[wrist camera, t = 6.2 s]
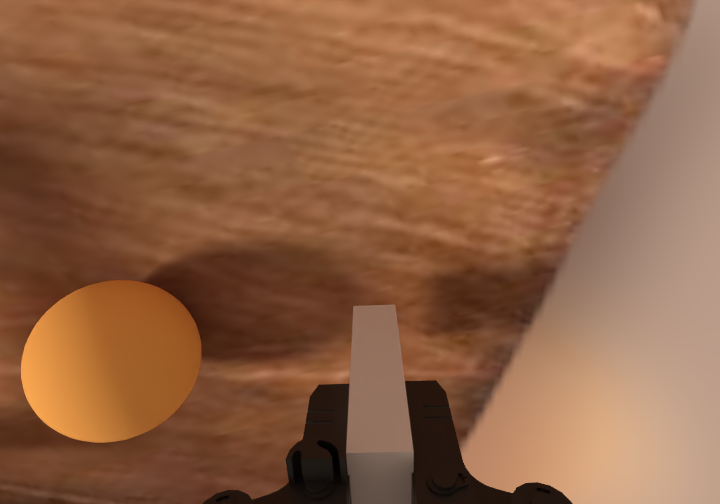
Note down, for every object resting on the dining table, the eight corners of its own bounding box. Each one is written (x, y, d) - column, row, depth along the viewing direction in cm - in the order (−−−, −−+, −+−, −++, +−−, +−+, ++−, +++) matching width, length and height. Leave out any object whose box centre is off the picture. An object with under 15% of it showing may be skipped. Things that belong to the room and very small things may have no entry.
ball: (230, 370, 19) (181, 479, 14) (105, 373, 19) (12, 483, 14) (207, 253, 17) (139, 332, 12) (67, 258, 17) (-58, 338, 12)
